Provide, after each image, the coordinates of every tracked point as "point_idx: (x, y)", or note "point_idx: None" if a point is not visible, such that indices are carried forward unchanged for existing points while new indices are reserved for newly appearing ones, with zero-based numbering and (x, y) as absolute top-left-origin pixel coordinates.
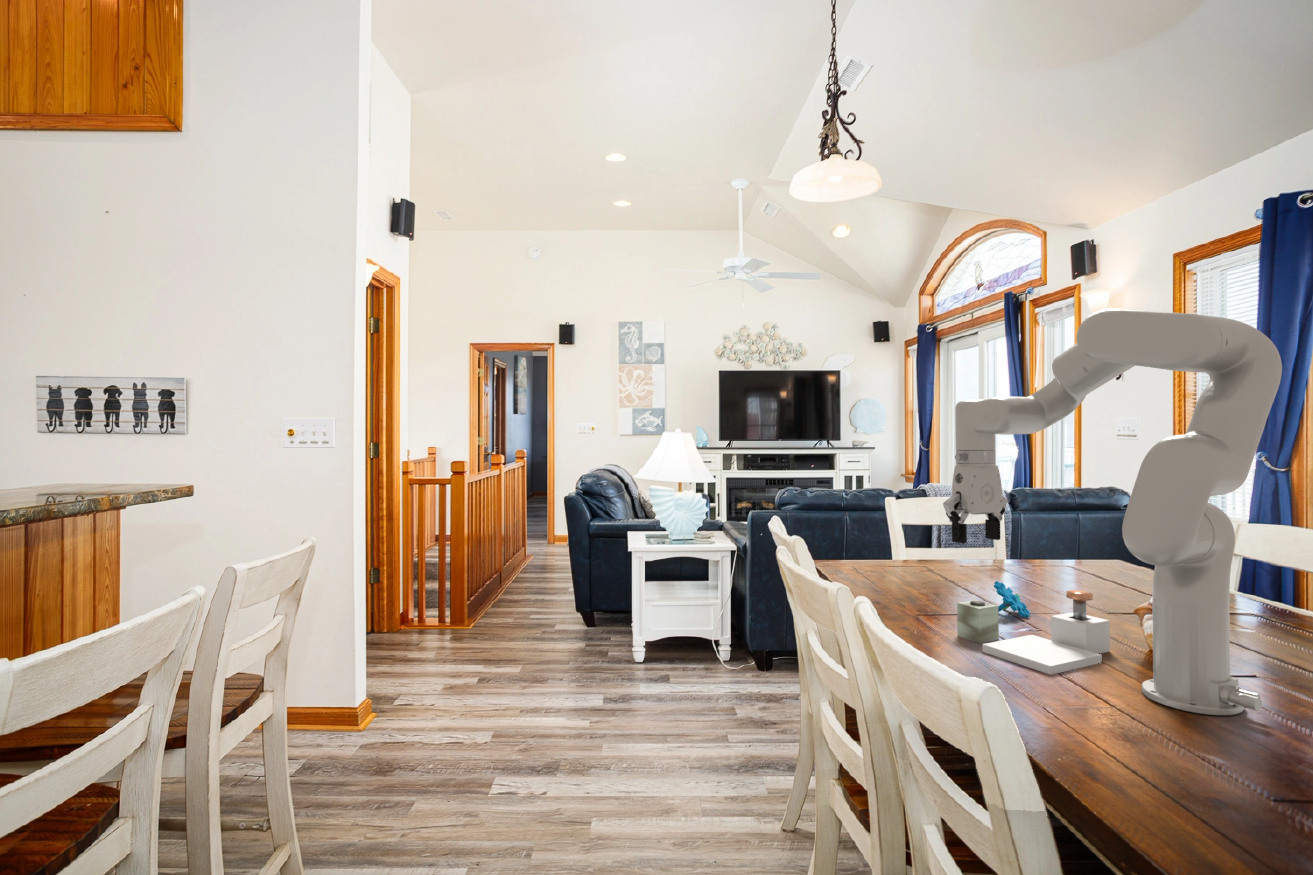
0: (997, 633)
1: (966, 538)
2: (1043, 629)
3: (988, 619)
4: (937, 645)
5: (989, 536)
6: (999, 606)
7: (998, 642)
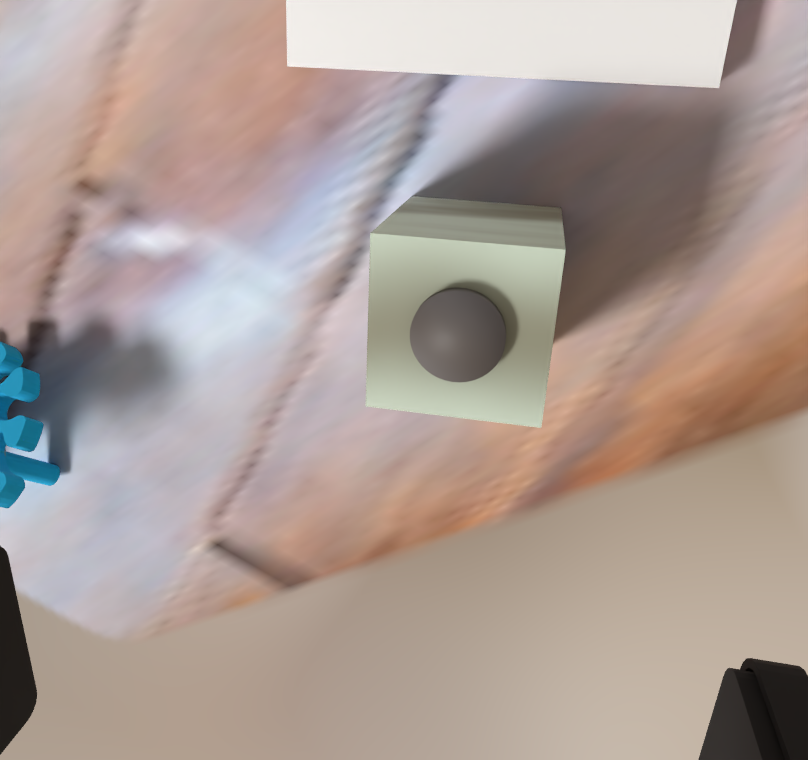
0: (416, 201)
1: (783, 717)
2: (59, 185)
3: (479, 224)
4: (803, 297)
5: (7, 675)
6: (26, 472)
7: (603, 59)
